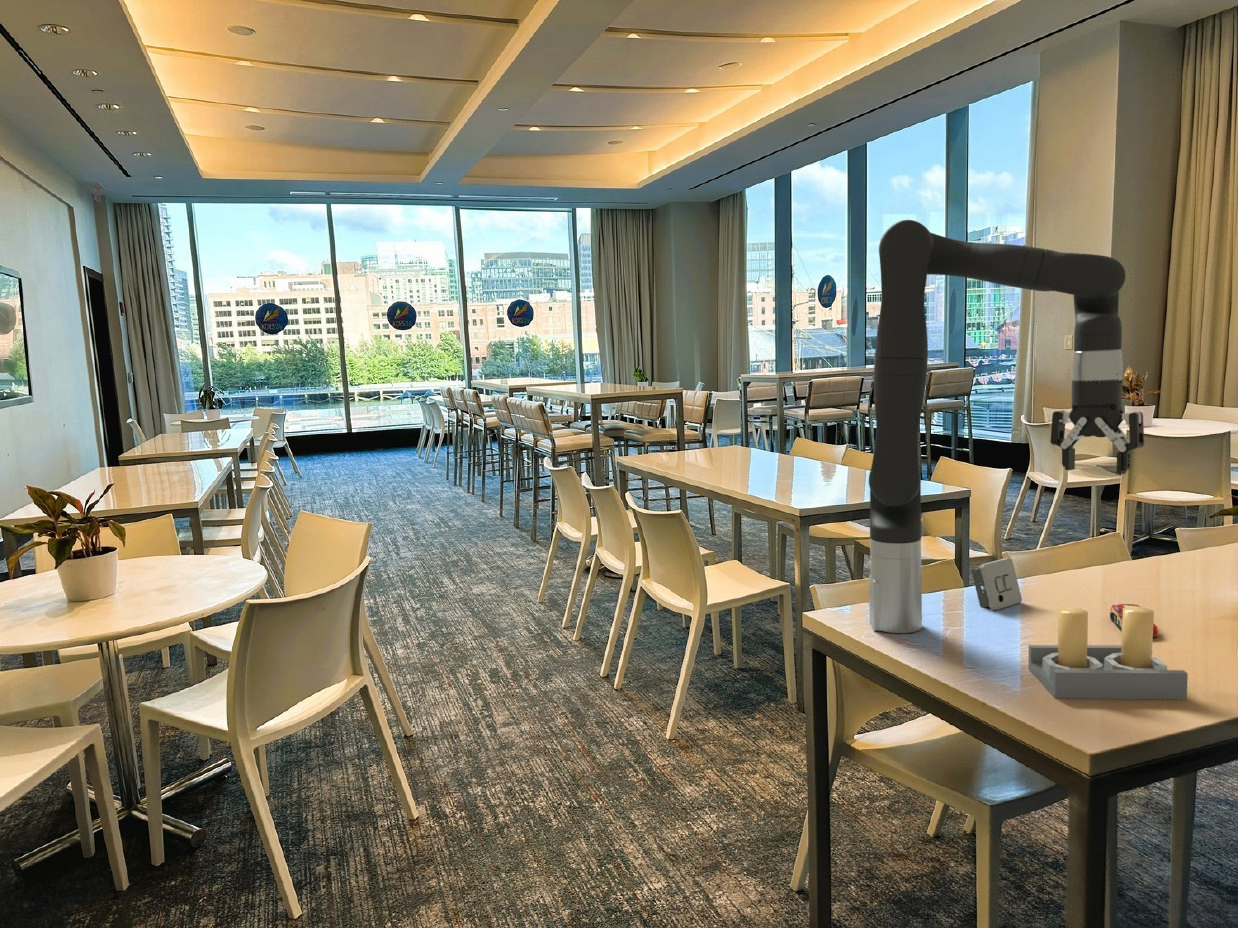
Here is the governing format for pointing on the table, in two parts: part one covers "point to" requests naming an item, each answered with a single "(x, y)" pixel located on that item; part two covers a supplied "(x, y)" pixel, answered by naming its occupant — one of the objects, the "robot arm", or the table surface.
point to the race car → (1117, 616)
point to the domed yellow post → (1137, 637)
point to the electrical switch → (997, 584)
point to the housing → (1098, 667)
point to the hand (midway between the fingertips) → (1095, 471)
